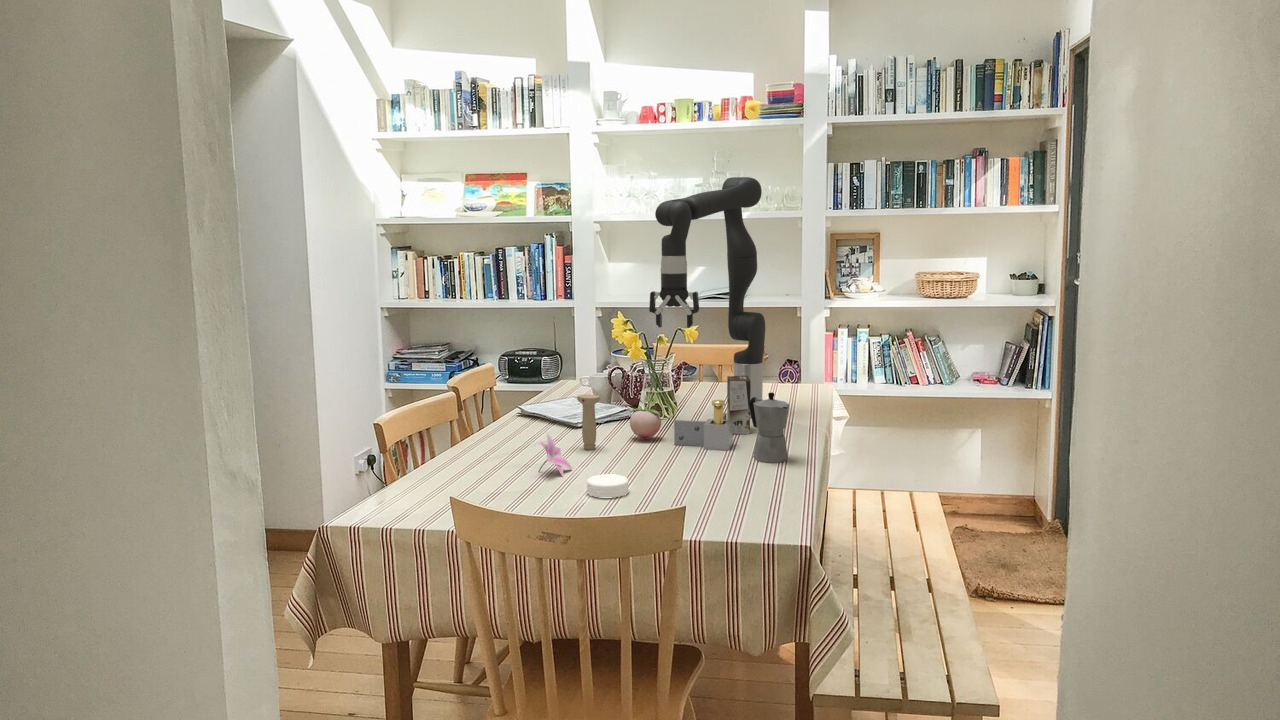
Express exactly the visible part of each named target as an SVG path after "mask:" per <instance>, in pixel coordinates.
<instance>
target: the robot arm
mask: <svg viewBox="0 0 1280 720" xmlns="http://www.w3.org/2000/svg"><path fill="white" fill-rule="evenodd" d="M762 191H763V190H762V185H761V183H760V181H758V180H757V179H756V178H753V177H749V176H746V177H745V176H742V177H738V176H737V177H728V178H727V179H725V180H724V182H723V184H722V186H721V189H717V190H708V191H702V192H699V193H695V194H692V195H689V196H686V197H683V198H675V199H670V200H664V201H662V202H661V203H660V204H658V206H657V207H656V209H655V213H654V214H655V219H656V221H657V223H658V224H660V225H661V226H664V227H672V228H671V230H670V233H669V234H666V235H664V236H663V237H662V238H661V259H660V260H661V261H660V291H651V292H649V313H653V314H655V324H656V326H658V328H662V327H663V314H662V312H663V310H665V308H666V307H668V308H671V307H676V308H679V307H681V308H683V310H684V311H685V312H686V313H687V315H686V328H689V329H690V328H691V327H692V326H693V324H694V314H697V313H698V312H699V311H700V303H699V302H700V301H699V292H698V291H692V292H690V291H688V264H687V263H688V261H687V238H688V234H689V230H690V227H691V223H692V221H695V220H698V219H701V218H705V217H707V216H710V215H714V214H716V213H717V214H718V213H720V212H723V217H724V223H725V234H726V235H725V236H726V250H727V251H726V256H727V258H726V259H727V273H728V296H729V297H728V314H727V315H728V318H727V322H728V324H727V325H728V333H729V334H728V335H729V336H730V338H731V339H732V340H734V341H742V342H747V343H748V344H747V347H746V348H745V349H743V350H739V351H737V352H735V353H733V376H748V377H749V379H750V381H751V387H750V400H751V399H752V398H753V397H756V398H760V399H763V381H764V380H763V378H764V377H763V373H764V371H763V369H764V366H763V364H764V363H763V361H764V353H765V340H766V339H765V338H766V320H765V319H766V318H765V316H764V315H763V314H762V313H761V312H755V311H745V310H744V302H745V297H746V295H747V291H748V290H749V288H750V286H751V284H752V283H753V281H754V279H755V277H756V275H757V272H758V251H757V248H756V245H755V242H754V240H753V238H752V237H751V235H750V232H749V231H748V229H747V227H746V226H745V222H744V218H743V212H742V211H743V210H742V209H745V208H746V209H747V208H752V207H754V206H756V205H758V203H759V202H760V200H761V198H762V193H763V192H762ZM659 298H660V299H661V300H662V302H661V304H660V305H659V306H658V307H657V308H656V303H657V302H656V300H657V299H659ZM688 298H690V299H691V301H692V306H693V309H692V308H691V306H690V305H689V303H688V302H687V299H688ZM750 419H752V418H751V413H750Z"/></svg>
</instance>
